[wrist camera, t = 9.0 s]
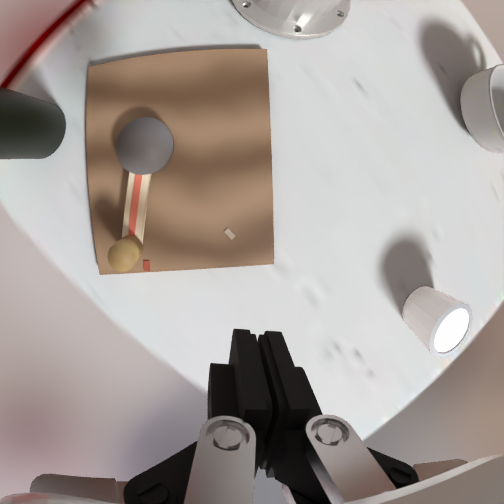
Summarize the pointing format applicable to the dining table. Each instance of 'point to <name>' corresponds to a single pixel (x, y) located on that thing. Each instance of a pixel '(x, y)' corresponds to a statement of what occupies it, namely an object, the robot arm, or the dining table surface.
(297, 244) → the dining table surface
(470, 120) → the teacup
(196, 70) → the brown cloth
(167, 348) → the dining table surface
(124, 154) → the multicoloured piece
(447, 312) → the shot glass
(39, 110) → the wine bottle
